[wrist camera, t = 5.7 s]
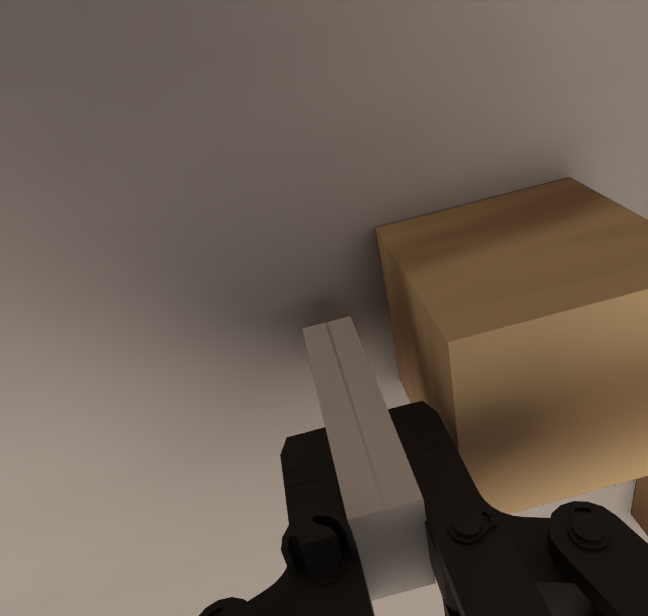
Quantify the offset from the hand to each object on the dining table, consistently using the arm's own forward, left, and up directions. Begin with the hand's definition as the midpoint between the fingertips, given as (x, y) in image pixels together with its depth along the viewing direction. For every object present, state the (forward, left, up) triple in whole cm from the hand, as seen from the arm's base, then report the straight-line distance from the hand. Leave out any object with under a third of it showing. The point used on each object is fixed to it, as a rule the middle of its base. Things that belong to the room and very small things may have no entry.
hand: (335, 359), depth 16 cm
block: (0, +5, -2) cm, 5 cm away
